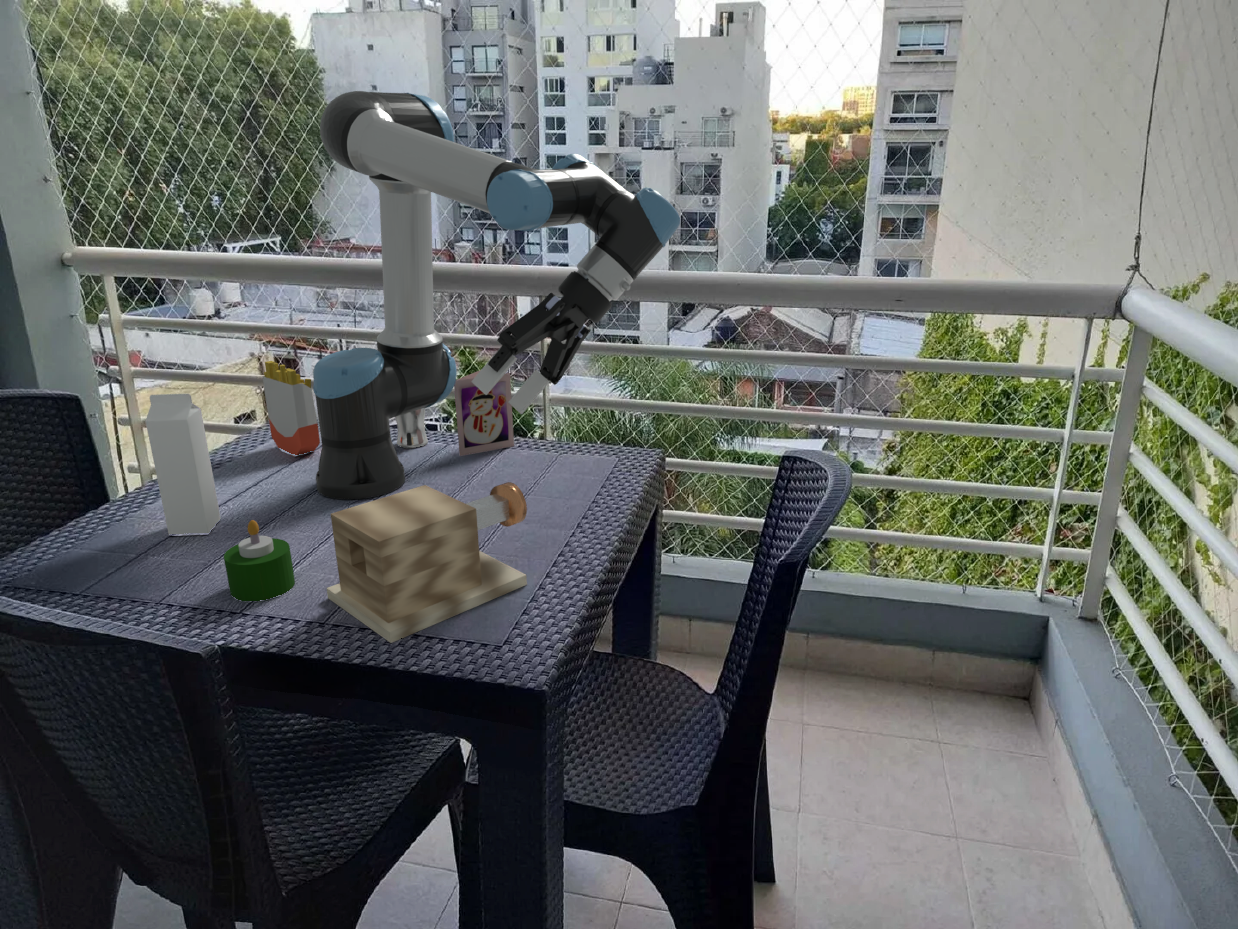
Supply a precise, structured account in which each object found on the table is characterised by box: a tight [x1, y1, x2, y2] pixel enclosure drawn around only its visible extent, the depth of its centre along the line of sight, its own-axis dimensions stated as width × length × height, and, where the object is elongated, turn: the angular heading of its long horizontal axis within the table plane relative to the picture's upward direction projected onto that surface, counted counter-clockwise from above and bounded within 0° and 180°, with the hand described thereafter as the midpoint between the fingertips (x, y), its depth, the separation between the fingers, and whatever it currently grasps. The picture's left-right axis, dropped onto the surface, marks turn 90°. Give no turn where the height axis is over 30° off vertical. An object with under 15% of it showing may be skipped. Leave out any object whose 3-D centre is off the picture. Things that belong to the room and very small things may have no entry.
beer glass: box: [394, 408, 429, 449], centre depth 175 cm, size 7×7×15 cm
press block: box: [326, 484, 528, 644], centre depth 116 cm, size 21×16×12 cm
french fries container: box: [261, 360, 321, 455], centre depth 170 cm, size 5×11×18 cm, turn 50°
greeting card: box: [453, 369, 515, 457], centre depth 172 cm, size 11×7×15 cm, turn 120°
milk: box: [145, 393, 222, 535], centre depth 135 cm, size 6×6×22 cm
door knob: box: [465, 481, 528, 531], centre depth 120 cm, size 16×6×6 cm, turn 134°
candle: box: [223, 519, 296, 602], centre depth 118 cm, size 8×8×10 cm
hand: (497, 399), depth 126 cm, fingers open, 13 cm apart
